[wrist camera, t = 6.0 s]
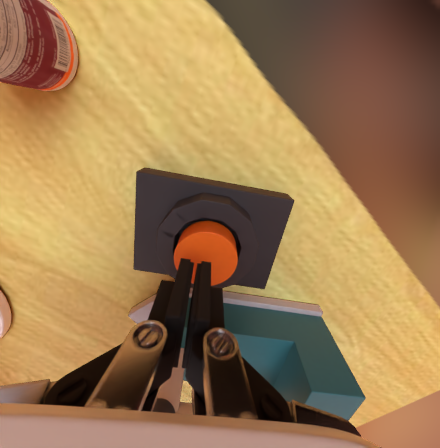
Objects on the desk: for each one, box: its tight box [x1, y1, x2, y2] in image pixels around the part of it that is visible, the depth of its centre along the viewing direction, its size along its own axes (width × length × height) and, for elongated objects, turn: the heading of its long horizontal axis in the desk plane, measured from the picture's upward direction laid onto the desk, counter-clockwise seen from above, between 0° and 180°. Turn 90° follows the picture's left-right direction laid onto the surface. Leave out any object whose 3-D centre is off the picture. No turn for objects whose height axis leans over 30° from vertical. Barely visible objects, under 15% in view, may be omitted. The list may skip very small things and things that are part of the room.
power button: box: [174, 221, 238, 286], centre depth 14 cm, size 4×4×2 cm
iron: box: [128, 288, 365, 420], centre depth 17 cm, size 18×8×10 cm, turn 79°
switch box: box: [134, 168, 294, 289], centre depth 16 cm, size 11×8×4 cm
